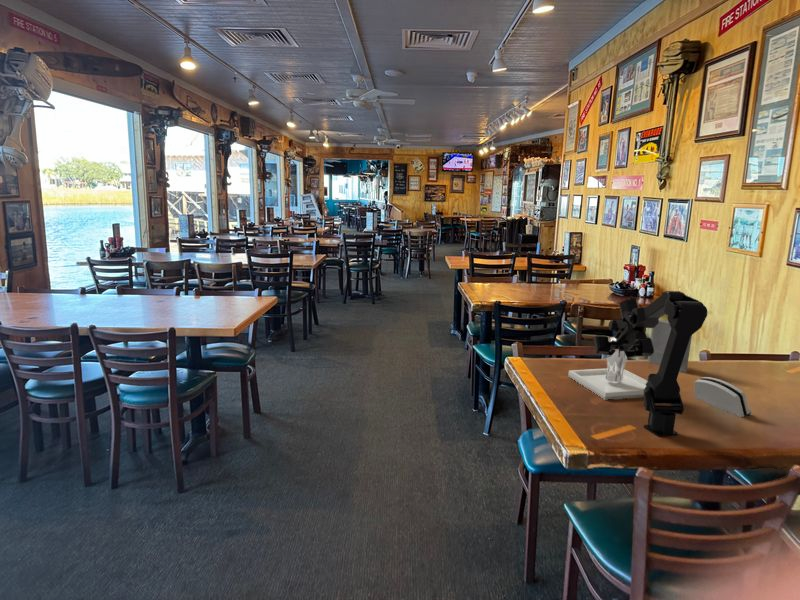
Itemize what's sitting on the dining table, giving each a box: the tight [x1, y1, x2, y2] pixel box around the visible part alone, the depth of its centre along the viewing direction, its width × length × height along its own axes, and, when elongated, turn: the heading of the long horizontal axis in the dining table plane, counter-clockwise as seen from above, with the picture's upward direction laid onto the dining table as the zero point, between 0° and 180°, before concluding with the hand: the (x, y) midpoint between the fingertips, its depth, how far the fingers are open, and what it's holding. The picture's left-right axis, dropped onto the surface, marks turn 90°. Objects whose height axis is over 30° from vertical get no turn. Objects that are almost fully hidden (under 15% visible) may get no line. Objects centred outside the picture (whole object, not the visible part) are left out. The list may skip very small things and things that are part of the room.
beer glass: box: [605, 336, 628, 383], centre depth 177 cm, size 7×7×15 cm
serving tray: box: [567, 367, 648, 401], centre depth 179 cm, size 22×22×2 cm
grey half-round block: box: [693, 376, 753, 418], centre depth 162 cm, size 17×5×10 cm, turn 20°
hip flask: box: [647, 319, 693, 374], centre depth 200 cm, size 16×4×20 cm, turn 29°
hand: (615, 357), depth 178 cm, fingers closed on beer glass, 7 cm apart
